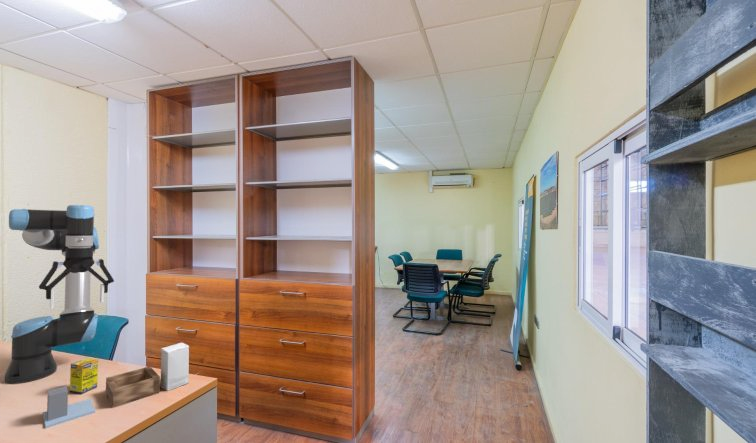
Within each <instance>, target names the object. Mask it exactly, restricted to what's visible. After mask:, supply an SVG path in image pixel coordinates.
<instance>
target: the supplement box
mask: <svg viewBox="0 0 756 443" xmlns="http://www.w3.org/2000/svg"><path fill="white" fill-rule="evenodd" d="M98 372H99V359H97V358H89V357H86V358H83V359H82V360H79V361H75V362H73V363H70V376H69V393H70V394H71V393H72V394H78V395H82V394H84V393H87V392H89V391H91V390H93V389H96V388H97V387H98V375H99V373H98Z"/></svg>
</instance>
